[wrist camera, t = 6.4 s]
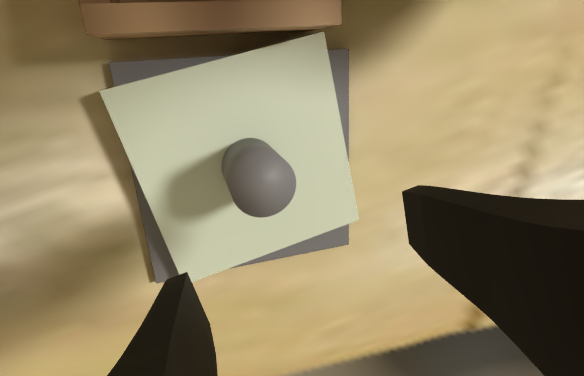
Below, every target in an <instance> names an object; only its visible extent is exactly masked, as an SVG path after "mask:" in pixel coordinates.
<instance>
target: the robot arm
mask: <svg viewBox="0 0 584 376" xmlns="http://www.w3.org/2000/svg"><path fill="white" fill-rule="evenodd" d="M402 195H403V202H404V209H405V217H406V224H407V231H408V239H409V244H410V245H411V246H412V248H413V249H414V250H415V251H416V252H417V253H418V255H419V256H420V257H421V258H422V259H423V260H424V261H425V262H426V263H427V264H428V265H429V266H430V267H431V268H432V269H433V270H434V271H435V272H437V273H438V274H439V275H440V276H441V277H442V278H443V279H445V280H446V281H447V282H448V283H449V284H451V285H452V286H453V287H454V288H455V289H457V290H458V291H459V292H460V293H461V294H462V295H464V296H465V297H466V298H467V299H468V300H470V301H471V302H472V303H473V304H474V305H476V306H477V307H478V308H479V309H480V310H481V311H483V312H484V313H485V314H486V315H487V316H488V317H489V318H490V319H491V320H492V321H493V322H494V323H495V324H496V325H497V326H498V327H499V328H500V329H501V330H502V331H503V332H504V333H505V334H506V335H507V336H508V337H509V338H510V339H511V340H512V341H513V342H514V343H515V344H516V345H517V346H518V347H519V348H520V349H521V351H522V352H523V353H524V354H525V355H526V356H527V357H528V358H529V359H530V360H531V362H532V363H533V364H534V365H535V366H536V367H537V368H538V369H539V370H540V371H541V372H542V373H543V375H544V376H584V200H556V199H533V198H520V197H510V196H500V195H492V194H484V193H477V192H470V191H463V190H456V189H449V188H442V187H434V186H420V185H419V186H416V187H413V188H410V189H408V190H405V191H402ZM107 376H217V363H216V352H215V347H214V342H213V337H212V332H211V327H210V323H209V321H208V319H207V316H206V314H205V312H204V310H203V307H202V305H201V303H200V300H199V298H198V296H197V293H196V291H195V289H194V287H193V284H192V282H191V280H190V277H189V275H188V273H187V272H185V273H182V274H180V275H177V276H174V277H172V278H169V279H167V280H166V281H165V283H164V285H163V287H162V289H161V290H160V292H159V294H158V296H157V298H156V300H155V301H154V303H153V305H152V307H151V309H150V311H149V312H148V314H147V316H146V318H145V319H144V321H143V323H142V325H141V326H140V328H139V330H138V331H137V333H136V334H135V336H134V337H133V339H132V341H131V342H130V344H129V345H128V347H127V348H126V350H125V351H124V353H123V355H122V356H121V357H120V359H119V360H118V362H117V363H116V365H115V366H114V367H113V369H112V370H111V371H110V373H109V374H108V375H107Z"/></svg>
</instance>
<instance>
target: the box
mask: <svg viewBox="0 0 584 376" xmlns="http://www.w3.org/2000/svg"><path fill="white" fill-rule="evenodd" d="M79 5H80V9H81V14H82V18H83V22H84V27H85V31H86V35H90V36H94V37H98V38H102V39H124V38H148V37H171V36H195V35H218V34H242V33H265V32H289V31H311V30H316V29H321V28H326V27H331V26H336V25H341V24H342V16H341V0H79Z"/></svg>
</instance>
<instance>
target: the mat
mask: <svg viewBox="0 0 584 376" xmlns="http://www.w3.org/2000/svg"><path fill="white" fill-rule="evenodd" d="M328 55H329V61H330V66H331V71H332V77H333V82H334V87H335V93H336V98H337V103H338V109H339V114H340V120H341V125H342V130H343V136H344V141H345V146H346V152H347V157H348V162H349V49H333V50H328ZM228 56H231V55H228ZM228 56H211V57H193V58H176V59H158V60H141V61H123V62H109V66H110V70H111V75H112V80H113V84H114V87H115V86H118V85H122V84H126V83H130V82H134V81H137V80H141V79H145V78H149V77H152V76H156V75H160V74H164V73H167V72H171V71H175V70H179V69H182V68H186V67H190V66H194V65H198V64H201V63H205V62H209V61H213V60H216V59H220V58H224V57H228ZM130 164H131V163H130ZM131 168H132V173H133V178H134V182H135V187H136V192H137V196H138V201H139V206H140V210H141V215H142V220H143V224H144V229H145V234H146V239H147V243H148V248H149V253H150V257H151V262H152V267H153V271H154V276H155V281H156V283H160V282H165V281H166V280H167V279H169V278H172V277H174V276H177V275H179V273H178V270H177V268H176V266H175V263H174V261H173V259H172V257H171V254H170V252H169V250H168V247H167V245H166V243H165V241H164V238H163V236H162V234H161V231H160V229H159V227H158V225H157V222H156V220H155V218H154V215H153V213H152V211H151V209H150V206H149V204H148V202H147V199H146V197H145V195H144V193H143V190H142V188H141V186H140V183H139V181H138V179H137V177H136V174H135V172H134V170H133V167H132V165H131ZM344 245H349V224H347V225H344V226H341V227H338V228H336V229H333V230H330V231H328V232H325V233H322V234H320V235H317V236H314V237H312V238H309V239H306V240H304V241H301V242H298V243H296V244H293V245H290V246H288V247H285V248H282V249H280V250H277V251H274V252H272V253H269V254H266V255H264V256H261V257H258V258H256V259H253V260H250V261H248V262H245V263H242V264H239V265H237V266H234V267H231V268H235V267H239V266H244V265H249V264H254V263H259V262H264V261H269V260H274V259H279V258H284V257H289V256H294V255H299V254H304V253H309V252H314V251H319V250H324V249H329V248H334V247H339V246H344ZM229 269H230V268H229Z"/></svg>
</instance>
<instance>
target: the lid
mask: <svg viewBox="0 0 584 376" xmlns="http://www.w3.org/2000/svg"><path fill="white" fill-rule="evenodd" d="M99 92H100V94H101V96H102V99H103V101H104V103H105V106H106V108H107V110H108V112H109V115H110V117H111V119H112V122H113V124H114V126H115V128H116V131H117V133H118V135H119V138H120V140H121V142H122V144H123V147H124V149H125V151H126V154H127V156H128V158H129V160H130V163H131V165H132V167H133V170H134V172H135V174H136V177H137V179H138V181H139V183H140V186H141V188H142V190H143V193H144V195H145V197H146V199H147V202H148V204H149V206H150V209H151V211H152V213H153V215H154V218H155V220H156V222H157V225H158V227H159V229H160V231H161V234H162V236H163V238H164V241H165V243H166V245H167V247H168V250H169V252H170V254H171V257H172V259H173V261H174V263H175V266H176V268H177V270H178V273H179V275H180V274H182V273H185V272H187V273H188V275H189V277H190V280H191V282H194V281H197V280H199V279H202V278H205V277H207V276H210V275H213V274H215V273H218V272H221V271H223V270H226V269H229V268H231V267H234V266H237V265H239V264H242V263H245V262H248V261H250V260H253V259H256V258H258V257H261V256H264V255H266V254H269V253H272V252H274V251H277V250H280V249H282V248H285V247H288V246H290V245H293V244H296V243H298V242H301V241H304V240H306V239H309V238H312V237H314V236H317V235H320V234H322V233H325V232H328V231H330V230H333V229H336V228H338V227H341V226H344V225H347V224H349V223H352V222H355V221H357V220H359V216H358V211H357V205H356V200H355V194H354V189H353V184H352V178H351V173H350V168H349V162H348V157H347V152H346V146H345V141H344V136H343V130H342V125H341V120H340V114H339V109H338V103H337V98H336V93H335V87H334V82H333V77H332V71H331V66H330V61H329V55H328V50H327V45H326V39H325V34H324V31H323V32H318V33H314V34H310V35H307V36H303V37H299V38H295V39H292V40H288V41H284V42H280V43H277V44H273V45H269V46H265V47H261V48H258V49H254V50H250V51H246V52H243V53H239V54H235V55H231V56H228V57H224V58H220V59H216V60H213V61H209V62H205V63H201V64H198V65H194V66H190V67H186V68H182V69H179V70H175V71H171V72H167V73H164V74H160V75H156V76H152V77H149V78H145V79H141V80H137V81H134V82H130V83H126V84H122V85H118V86H115V87H111V88H107V89H103V90H101V91H99Z"/></svg>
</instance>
